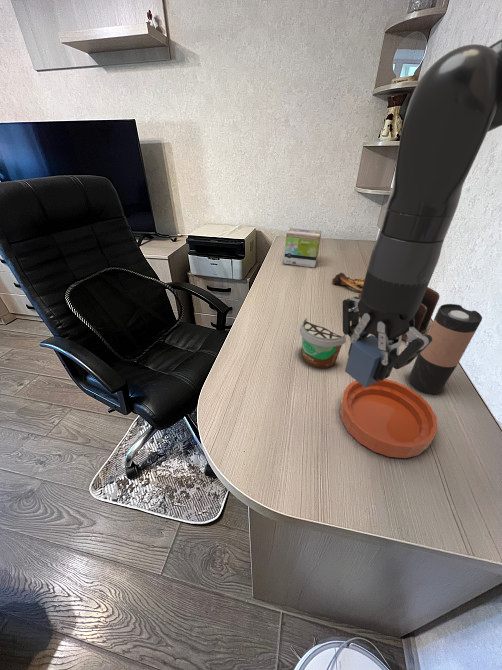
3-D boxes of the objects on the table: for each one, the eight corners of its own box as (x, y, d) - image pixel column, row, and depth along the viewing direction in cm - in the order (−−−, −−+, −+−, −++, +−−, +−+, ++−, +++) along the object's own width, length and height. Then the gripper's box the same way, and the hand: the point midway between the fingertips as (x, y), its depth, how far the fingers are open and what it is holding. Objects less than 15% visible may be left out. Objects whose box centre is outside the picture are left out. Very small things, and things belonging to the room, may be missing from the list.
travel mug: (412, 393, 65) (447, 320, 53) (403, 371, 71) (433, 302, 60) (448, 397, 64) (491, 324, 52) (435, 374, 70) (471, 305, 59)
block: (384, 378, 46) (395, 349, 42) (365, 388, 44) (375, 358, 40) (363, 362, 49) (372, 334, 45) (344, 371, 47) (352, 342, 43)
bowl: (448, 433, 56) (456, 420, 54) (391, 476, 49) (398, 464, 46) (376, 380, 68) (380, 367, 66) (322, 408, 61) (325, 395, 59)
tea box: (283, 264, 133) (285, 232, 124) (287, 257, 140) (289, 227, 132) (315, 268, 129) (319, 235, 121) (317, 261, 137) (321, 230, 128)
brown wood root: (330, 290, 111) (379, 295, 106) (332, 279, 108) (382, 284, 103) (332, 280, 118) (377, 284, 113) (333, 270, 115) (380, 274, 111)
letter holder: (372, 305, 100) (383, 268, 91) (425, 332, 86) (444, 290, 78) (353, 312, 95) (363, 274, 87) (405, 342, 81) (423, 299, 73)
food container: (287, 357, 76) (290, 326, 70) (300, 347, 79) (304, 317, 74) (327, 378, 69) (334, 346, 63) (339, 366, 72) (347, 335, 67)
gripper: (473, 285, 32) (420, 388, 42) (374, 249, 42) (350, 340, 52) (434, 299, 29) (387, 407, 39) (337, 257, 39) (319, 352, 49)
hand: (366, 368), depth 45 cm, fingers closed on block, 4 cm apart
